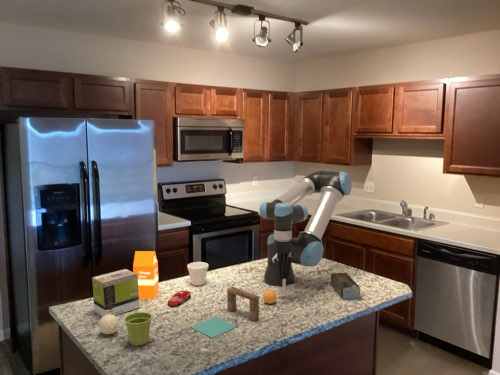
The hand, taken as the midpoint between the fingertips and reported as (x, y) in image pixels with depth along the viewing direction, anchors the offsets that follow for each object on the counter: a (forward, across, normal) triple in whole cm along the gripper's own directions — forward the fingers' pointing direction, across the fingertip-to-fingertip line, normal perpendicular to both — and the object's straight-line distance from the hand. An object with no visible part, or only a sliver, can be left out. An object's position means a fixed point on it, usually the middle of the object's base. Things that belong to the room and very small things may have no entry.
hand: (281, 293), depth 183 cm
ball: (0, -8, 0) cm, 8 cm away
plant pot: (+4, -64, +10) cm, 65 cm away
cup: (+3, -14, +40) cm, 42 cm away
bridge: (+3, -24, 0) cm, 24 cm away
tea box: (+4, -56, +40) cm, 69 cm away
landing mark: (+3, -39, 0) cm, 39 cm away
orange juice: (+3, -38, +45) cm, 59 cm away
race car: (+3, -33, +29) cm, 44 cm away
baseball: (+4, -68, +23) cm, 72 cm away
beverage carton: (+2, +25, -16) cm, 30 cm away
